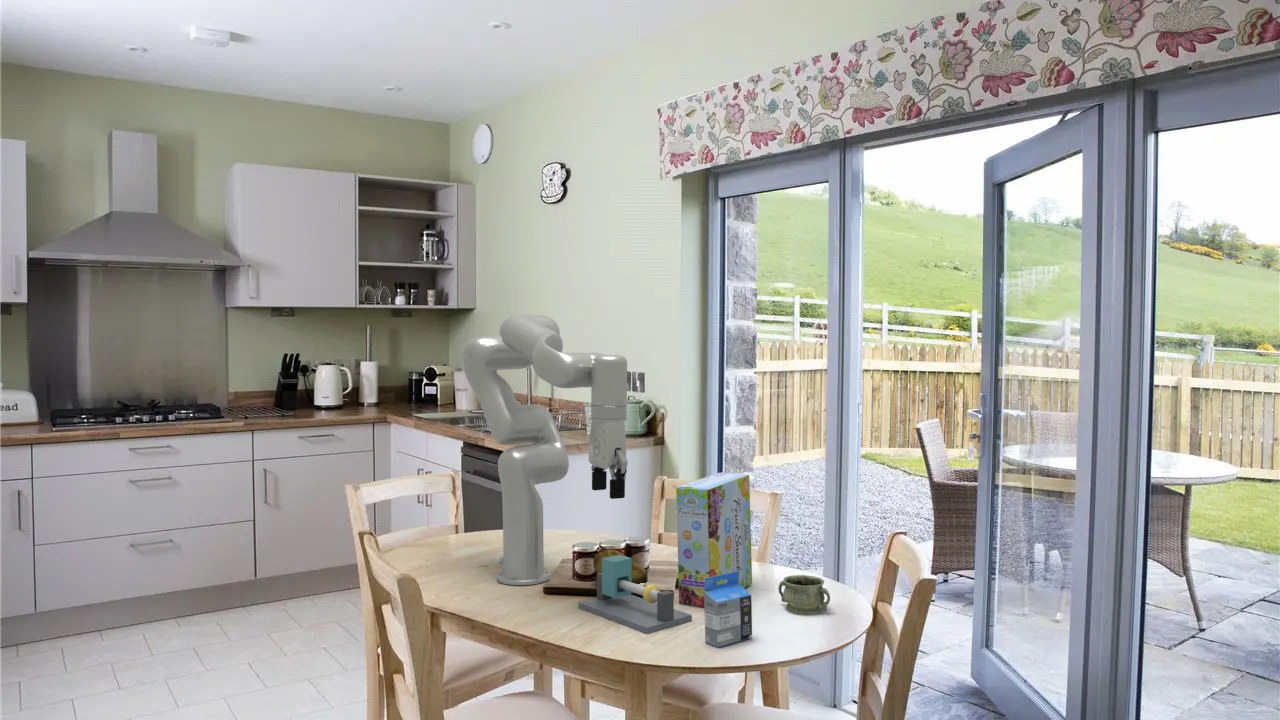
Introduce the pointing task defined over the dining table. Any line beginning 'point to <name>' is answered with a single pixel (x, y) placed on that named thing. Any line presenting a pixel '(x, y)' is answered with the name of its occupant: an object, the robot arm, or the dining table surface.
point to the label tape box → (726, 610)
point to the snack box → (713, 533)
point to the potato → (637, 571)
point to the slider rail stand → (637, 607)
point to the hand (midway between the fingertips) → (607, 493)
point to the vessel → (804, 594)
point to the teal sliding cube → (615, 575)
